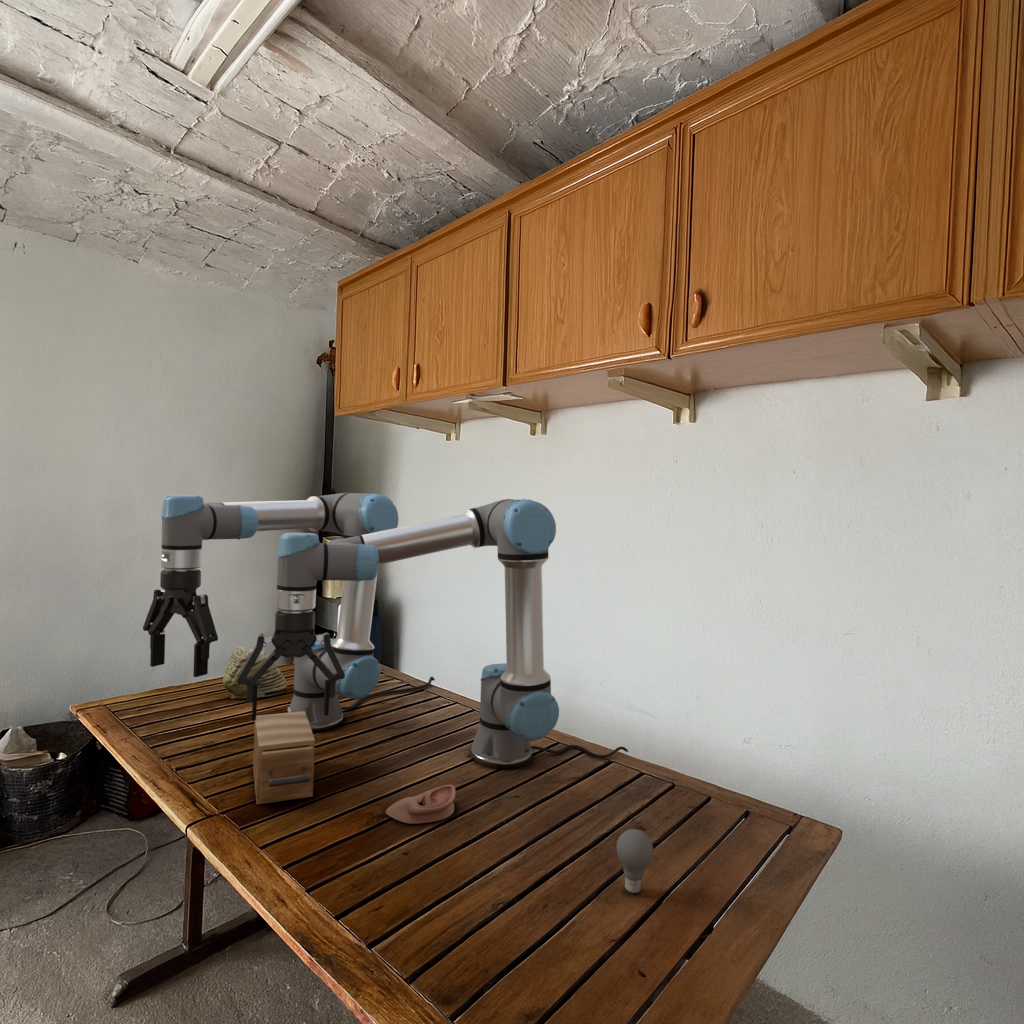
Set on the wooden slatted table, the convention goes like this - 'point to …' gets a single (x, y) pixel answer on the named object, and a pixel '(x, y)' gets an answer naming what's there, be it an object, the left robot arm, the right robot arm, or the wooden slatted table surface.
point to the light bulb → (634, 857)
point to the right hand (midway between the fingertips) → (290, 715)
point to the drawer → (286, 773)
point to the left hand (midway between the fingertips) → (178, 670)
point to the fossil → (268, 682)
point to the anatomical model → (424, 806)
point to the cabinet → (280, 740)
